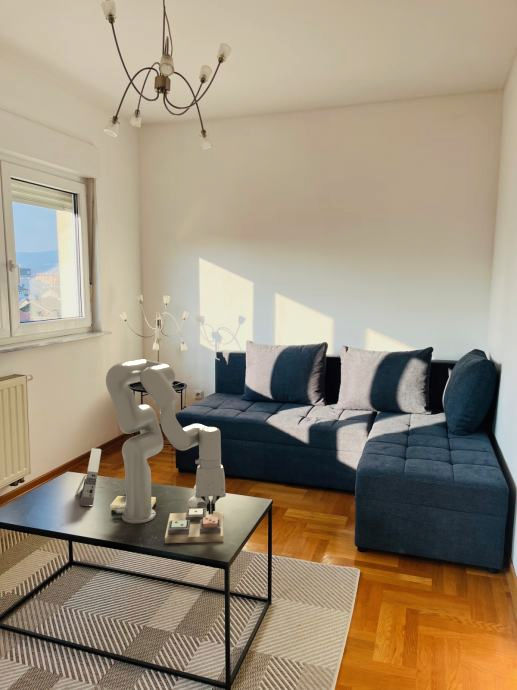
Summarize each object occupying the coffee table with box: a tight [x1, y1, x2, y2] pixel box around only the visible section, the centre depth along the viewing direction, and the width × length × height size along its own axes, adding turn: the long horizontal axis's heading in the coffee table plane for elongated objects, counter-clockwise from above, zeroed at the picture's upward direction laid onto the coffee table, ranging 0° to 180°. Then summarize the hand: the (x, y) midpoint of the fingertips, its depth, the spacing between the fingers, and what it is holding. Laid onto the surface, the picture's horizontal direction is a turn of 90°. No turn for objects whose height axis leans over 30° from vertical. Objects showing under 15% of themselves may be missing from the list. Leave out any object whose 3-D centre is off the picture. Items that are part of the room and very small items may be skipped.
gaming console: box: [75, 447, 102, 507], centre depth 221 cm, size 23×8×20 cm, turn 14°
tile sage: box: [171, 520, 187, 529], centre depth 189 cm, size 5×5×2 cm
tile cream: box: [188, 507, 204, 516], centre depth 199 cm, size 5×5×2 cm
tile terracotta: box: [203, 517, 218, 528], centre depth 190 cm, size 5×5×2 cm
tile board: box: [164, 507, 224, 544], centre depth 194 cm, size 20×20×4 cm
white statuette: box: [187, 484, 206, 509], centre depth 215 cm, size 6×8×12 cm
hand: (210, 512), depth 189 cm, fingers closed
